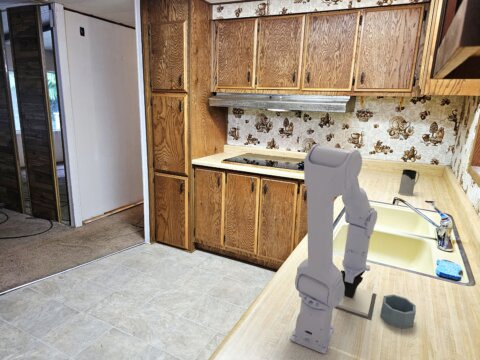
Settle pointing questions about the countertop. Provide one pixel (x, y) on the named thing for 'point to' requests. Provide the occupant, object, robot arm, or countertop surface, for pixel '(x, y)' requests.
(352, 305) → the cover
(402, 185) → the gray black pitcher
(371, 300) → the mat
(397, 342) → the countertop surface
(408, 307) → the bowl
